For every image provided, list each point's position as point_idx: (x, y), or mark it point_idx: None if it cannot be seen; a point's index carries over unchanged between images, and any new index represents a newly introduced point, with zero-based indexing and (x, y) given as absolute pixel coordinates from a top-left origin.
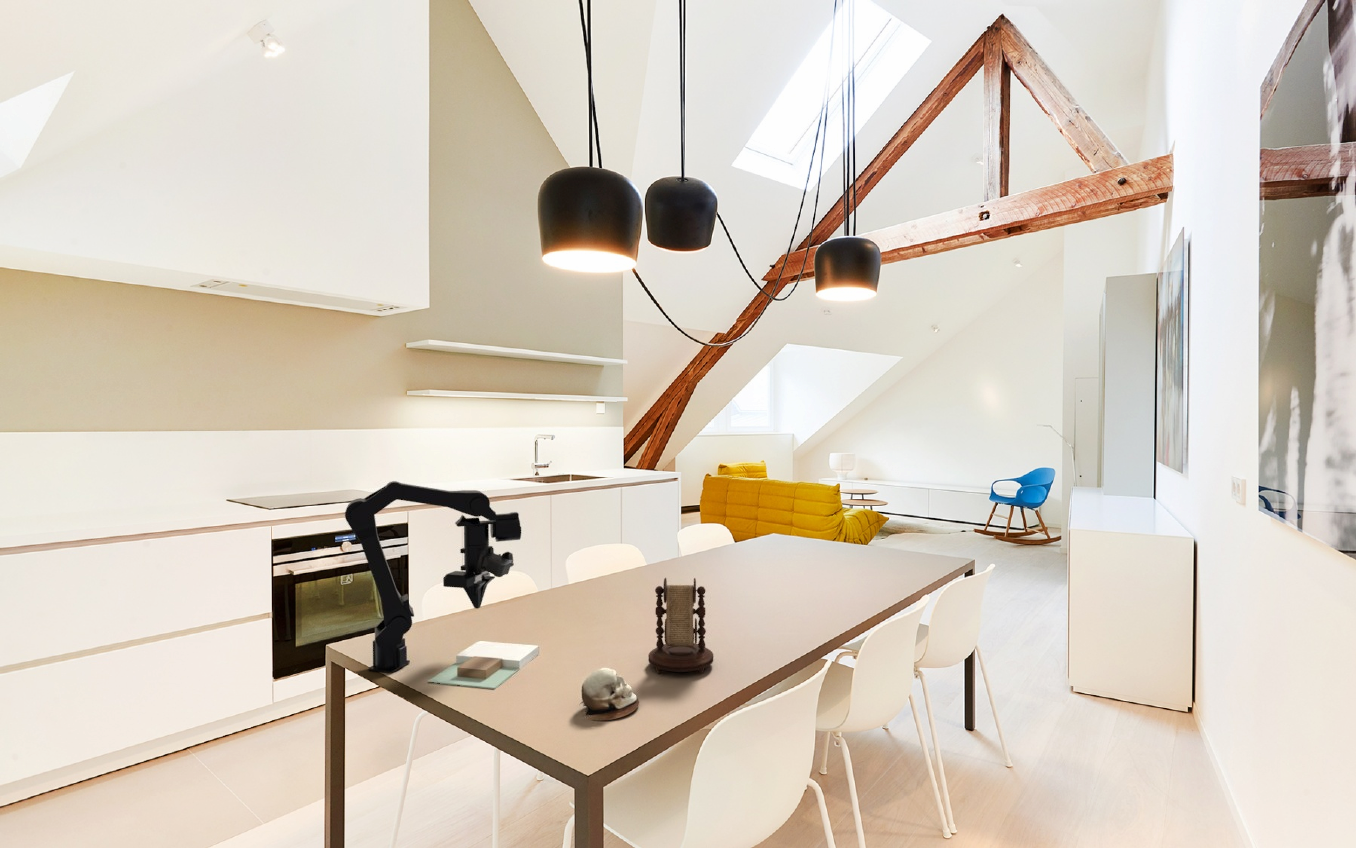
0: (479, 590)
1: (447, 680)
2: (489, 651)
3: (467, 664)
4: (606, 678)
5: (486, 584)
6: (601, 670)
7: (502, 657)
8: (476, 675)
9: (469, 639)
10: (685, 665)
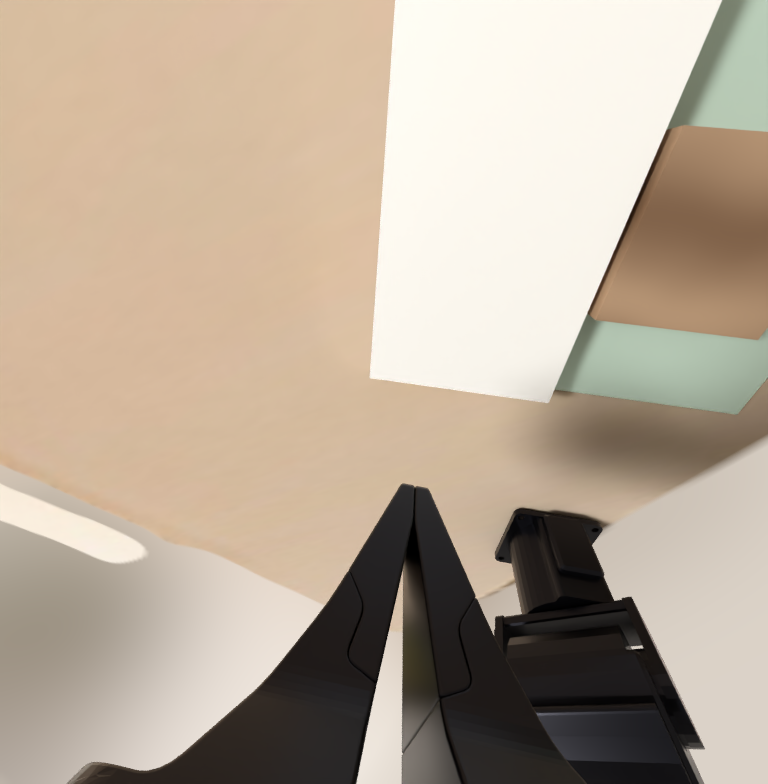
0: (474, 675)
1: (764, 347)
2: (510, 276)
3: (728, 306)
4: None
5: (303, 700)
6: None
7: (627, 147)
8: None
9: (289, 426)
10: None
